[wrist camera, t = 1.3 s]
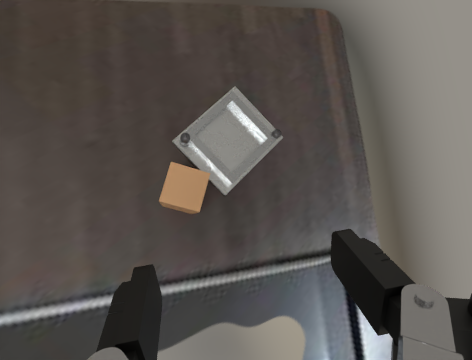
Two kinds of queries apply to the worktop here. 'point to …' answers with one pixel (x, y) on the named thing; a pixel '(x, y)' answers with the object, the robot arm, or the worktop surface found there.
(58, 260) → the worktop surface
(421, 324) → the robot arm
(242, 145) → the plate
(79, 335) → the worktop surface
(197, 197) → the tan block
